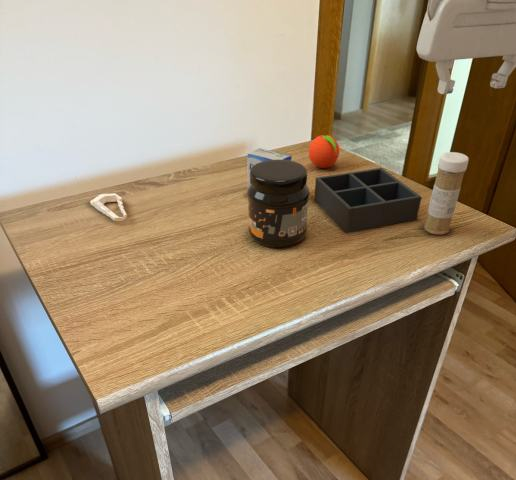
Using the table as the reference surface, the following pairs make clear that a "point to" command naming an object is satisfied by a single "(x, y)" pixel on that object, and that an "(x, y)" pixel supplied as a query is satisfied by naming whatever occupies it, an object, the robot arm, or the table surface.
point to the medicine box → (263, 158)
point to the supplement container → (278, 203)
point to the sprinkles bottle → (445, 192)
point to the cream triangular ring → (99, 205)
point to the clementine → (323, 151)
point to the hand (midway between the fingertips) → (471, 90)
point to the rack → (366, 199)
